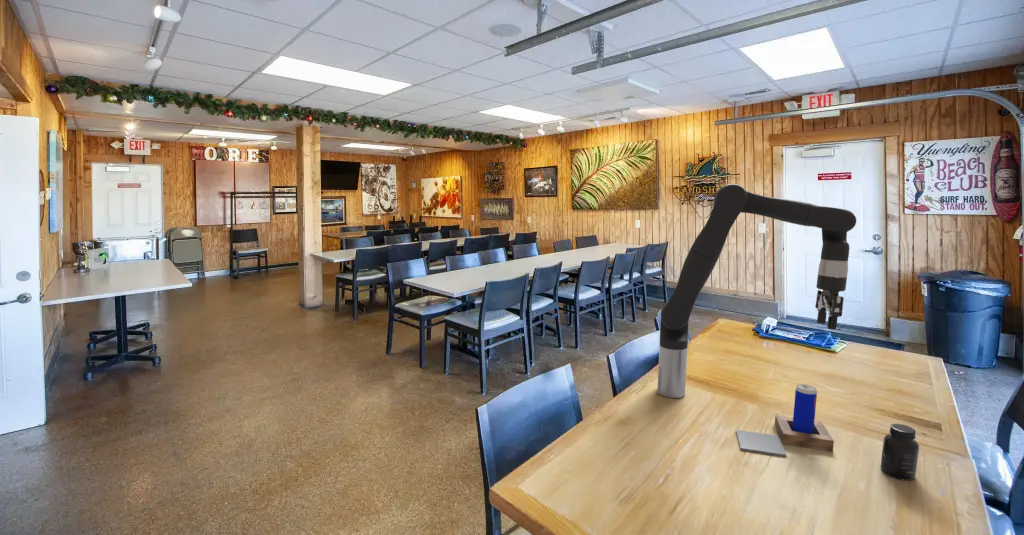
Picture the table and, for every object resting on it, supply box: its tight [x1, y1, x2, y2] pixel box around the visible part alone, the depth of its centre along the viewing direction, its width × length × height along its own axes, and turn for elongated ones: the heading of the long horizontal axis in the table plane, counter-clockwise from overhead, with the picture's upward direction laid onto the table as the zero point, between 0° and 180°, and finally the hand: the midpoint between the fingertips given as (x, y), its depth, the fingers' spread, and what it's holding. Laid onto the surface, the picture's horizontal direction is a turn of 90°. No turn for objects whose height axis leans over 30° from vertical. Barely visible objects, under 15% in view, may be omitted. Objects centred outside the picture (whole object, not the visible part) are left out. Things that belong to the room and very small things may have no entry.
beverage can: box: [792, 383, 818, 434], centre depth 135 cm, size 5×5×15 cm
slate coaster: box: [735, 429, 787, 458], centre depth 133 cm, size 11×11×1 cm
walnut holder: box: [774, 415, 835, 452], centre depth 136 cm, size 12×12×3 cm
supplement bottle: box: [880, 423, 920, 481], centre depth 117 cm, size 7×7×12 cm
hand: (826, 326), depth 148 cm, fingers open, 8 cm apart
